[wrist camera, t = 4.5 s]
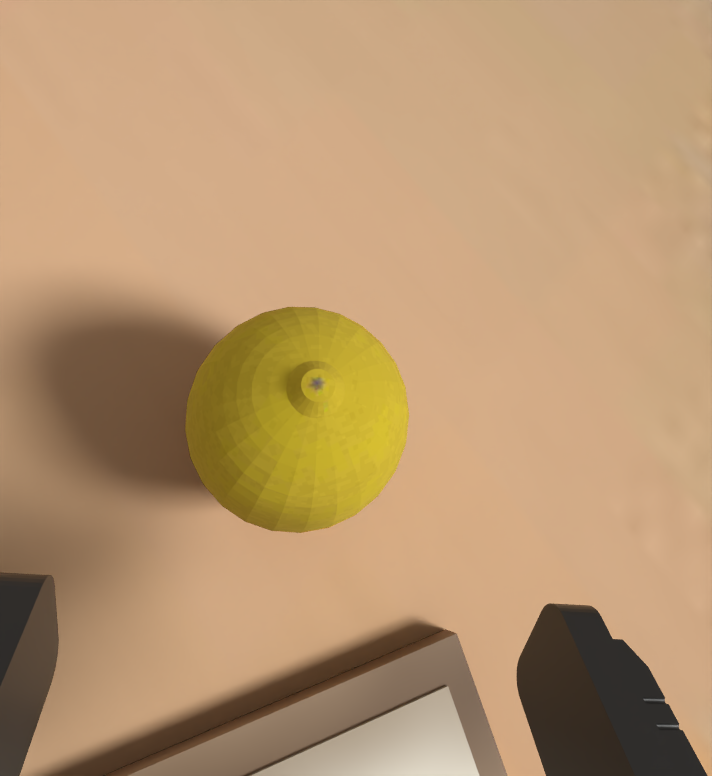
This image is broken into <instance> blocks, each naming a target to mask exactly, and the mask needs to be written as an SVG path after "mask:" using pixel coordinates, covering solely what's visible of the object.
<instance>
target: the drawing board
mask: <svg viewBox="0 0 712 776" xmlns="http://www.w3.org/2000/svg"><path fill="white" fill-rule="evenodd" d="M104 776H507V773H506V770H505V768H504V765H503V762H502V759H501V756H500V754H499V751H498V748H497V745H496V742H495V740H494V737H493V734H492V731H491V728H490V726H489V723H488V720H487V717H486V714H485V712H484V709H483V706H482V703H481V700H480V698H479V695H478V692H477V689H476V686H475V684H474V681H473V678H472V675H471V672H470V670H469V667H468V664H467V661H466V658H465V656H464V653H463V650H462V647H461V644H460V642H459V639H458V636H457V634H456V633H454V632H451V631H448V630H446V629H445V630H443V631H441V632H438V633H436V634H434V635H431V636H429V637H427V638H424V639H422V640H420V641H417V642H415V643H413V644H410V645H408V646H406V647H403V648H401V649H399V650H396V651H394V652H392V653H389V654H387V655H385V656H382V657H380V658H377V659H375V660H373V661H370V662H368V663H366V664H363V665H361V666H359V667H356V668H354V669H352V670H349V671H347V672H345V673H342V674H340V675H338V676H335V677H333V678H331V679H328V680H326V681H324V682H321V683H319V684H317V685H314V686H312V687H310V688H307V689H305V690H303V691H300V692H298V693H296V694H293V695H291V696H289V697H286V698H284V699H282V700H279V701H277V702H275V703H272V704H270V705H268V706H265V707H263V708H261V709H258V710H256V711H254V712H251V713H249V714H246V715H244V716H242V717H239V718H237V719H235V720H232V721H230V722H228V723H225V724H223V725H221V726H218V727H216V728H214V729H211V730H209V731H207V732H204V733H202V734H200V735H197V736H195V737H193V738H190V739H188V740H186V741H183V742H181V743H179V744H176V745H174V746H172V747H169V748H167V749H165V750H162V751H160V752H158V753H155V754H153V755H151V756H148V757H146V758H144V759H141V760H139V761H137V762H134V763H132V764H130V765H127V766H125V767H123V768H120V769H118V770H115V771H113V772H111V773H108V774H106V775H104Z"/></svg>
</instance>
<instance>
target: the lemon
mask: <svg viewBox="0 0 712 776" xmlns="http://www.w3.org/2000/svg"><path fill="white" fill-rule="evenodd" d="M408 419H409V412H408V404H407V397H406V389H405V385H404V383H403V380H402V378H401V375H400V373H399V370H398V368H397V365H396V363H395V361H394V360H393V359H392V357H391V356H390V354H389V353H388V352H387V350H386V349H385V347H384V346H383V345H382V343H381V342H380V341H379V340H377V339H376V338H375V337H374V336H373V335H372V334H371V333H370V332H368V331H367V330H366V329H365V328H364V327H363V326H361V325H359V324H358V323H356V322H354V321H352V320H350V319H348V318H346V317H344V316H343V315H341V314H338V313H334V312H330V311H326V310H322V309H319V308H313V307H287V308H282V309H278V310H273V311H269V312H264V313H262V314H260V315H258V316H256V317H254V318H252V319H250V320H248V321H246V322H244V323H242V324H240V325H238V326H237V327H235V328H234V329H233V330H232V331H231V332H230V333H229V334H227V335H226V336H225V337H224V338H223V339H222V340H221V341H219V342H218V343H217V344H216V345H215V346H214V347H213V349H212V350H211V352H210V353H209V355H208V356H207V358H206V359H205V361H204V362H203V363H202V365H201V366H200V368H199V369H198V371H197V373H196V376H195V379H194V382H193V385H192V388H191V391H190V394H189V397H188V400H187V411H186V424H185V432H186V437H187V442H188V448H189V453H190V458H191V460H192V462H193V464H194V466H195V468H196V470H197V472H198V474H199V477H200V479H201V481H202V483H203V484H204V486H205V487H206V488H207V489H208V490H209V491H210V493H211V494H212V495H213V496H214V497H215V498H216V499H217V501H218V502H219V503H220V504H221V505H222V506H223V507H225V508H226V509H228V510H229V511H230V512H232V513H233V514H235V515H236V516H238V517H239V518H241V519H242V520H244V521H245V522H248V523H251V524H254V525H257V526H260V527H263V528H265V529H268V530H271V531H284V532H297V533H302V532H308V531H313V530H319V529H324V528H329V527H331V526H333V525H335V524H337V523H339V522H342V521H344V520H346V519H348V518H350V517H352V516H354V515H356V514H357V513H358V512H359V511H361V510H362V509H363V508H364V507H365V506H367V505H368V504H369V503H370V502H371V501H373V500H374V499H375V498H376V497H377V496H378V495H379V494H380V492H381V491H382V489H383V488H384V487H385V485H386V484H387V482H388V481H389V480H390V478H391V477H392V475H393V474H394V473H395V471H396V468H397V466H398V463H399V460H400V458H401V455H402V452H403V450H404V447H405V444H406V438H407V428H408Z"/></svg>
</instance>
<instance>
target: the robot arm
mask: <svg viewBox="0 0 712 776" xmlns="http://www.w3.org/2000/svg"><path fill="white" fill-rule="evenodd" d="M58 643H59V639H58V625H57V611H56V598H55V585H54V579H53V577H52V576H51V575H35V574H16V573H0V776H19V775H20V772H21V769H22V767H23V764H24V761H25V758H26V755H27V752H28V749H29V746H30V743H31V740H32V737H33V734H34V732H35V729H36V726H37V723H38V720H39V717H40V714H41V711H42V708H43V705H44V702H45V700H46V697H47V694H48V691H49V688H50V685H51V682H52V678H53V675H54V671H55V666H56V661H57V655H58ZM517 687H518V692H519V696H520V699H521V702H522V705H523V708H524V711H525V714H526V717H527V720H528V723H529V726H530V729H531V732H532V735H533V738H534V741H535V744H536V747H537V750H538V753H539V756H540V759H541V762H542V765H543V768H544V771H545V774H546V776H707V774H706V772H705V770H704V769H703V767H702V765H701V763H700V761H699V759H698V758H697V756H696V754H695V752H694V750H693V748H692V747H691V745H690V743H689V741H688V739H687V737H686V736H685V734H684V732H683V730H680V729H679V723H678V721H677V719H676V717H675V715H674V714H673V712H672V710H671V708H670V706H669V704H666V703H665V697H664V695H663V693H662V692H661V690H660V688H659V686H658V684H657V682H656V681H655V679H654V677H653V675H652V673H651V671H650V669H649V668H648V666H647V665H646V664H645V663H644V662H643V661H642V660H641V659H640V658H639V657H638V656H637V655H636V653H635V652H634V651H633V650H632V649H631V648H630V647H629V646H628V645H627V644H626V643H625V642H624V641H623V640H618V639H612V637H611V635H610V633H609V631H608V629H607V627H606V625H605V623H604V621H603V619H602V617H601V616H600V614H599V612H598V611H597V610H596V609H595V608H594V607H592V606H587V605H568V604H547V605H546V606H545V607H544V608H543V610H542V612H541V614H540V616H539V618H538V620H537V622H536V624H535V626H534V628H533V630H532V632H531V635H530V637H529V639H528V641H527V643H526V645H525V647H524V649H523V651H522V653H521V655H520V658H519V661H518V666H517Z"/></svg>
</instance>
